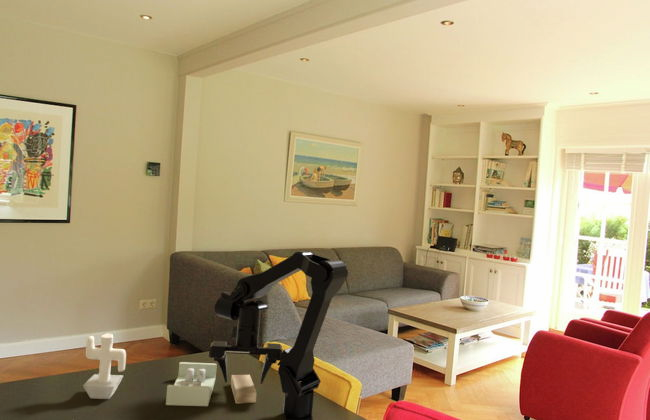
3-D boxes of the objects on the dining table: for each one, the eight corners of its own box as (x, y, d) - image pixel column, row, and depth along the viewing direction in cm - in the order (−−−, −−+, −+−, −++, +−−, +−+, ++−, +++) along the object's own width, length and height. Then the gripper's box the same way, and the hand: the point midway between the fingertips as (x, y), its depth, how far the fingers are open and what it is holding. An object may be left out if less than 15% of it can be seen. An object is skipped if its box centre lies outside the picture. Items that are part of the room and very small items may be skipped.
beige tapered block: (248, 385, 132) (249, 374, 132) (255, 404, 121) (256, 392, 121) (230, 385, 131) (231, 375, 131) (235, 404, 119) (236, 392, 119)
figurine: (118, 401, 114) (122, 340, 114) (76, 400, 113) (81, 338, 113) (127, 389, 122) (131, 331, 121) (88, 388, 120) (93, 329, 120)
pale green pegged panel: (215, 379, 133) (216, 363, 133) (207, 406, 116) (209, 388, 116) (178, 378, 132) (180, 362, 132) (165, 404, 115) (167, 386, 115)
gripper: (283, 318, 134) (278, 372, 135) (215, 314, 132) (211, 370, 132) (284, 329, 123) (279, 388, 124) (211, 325, 121) (206, 386, 121)
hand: (243, 382), depth 125 cm, fingers open, 9 cm apart
